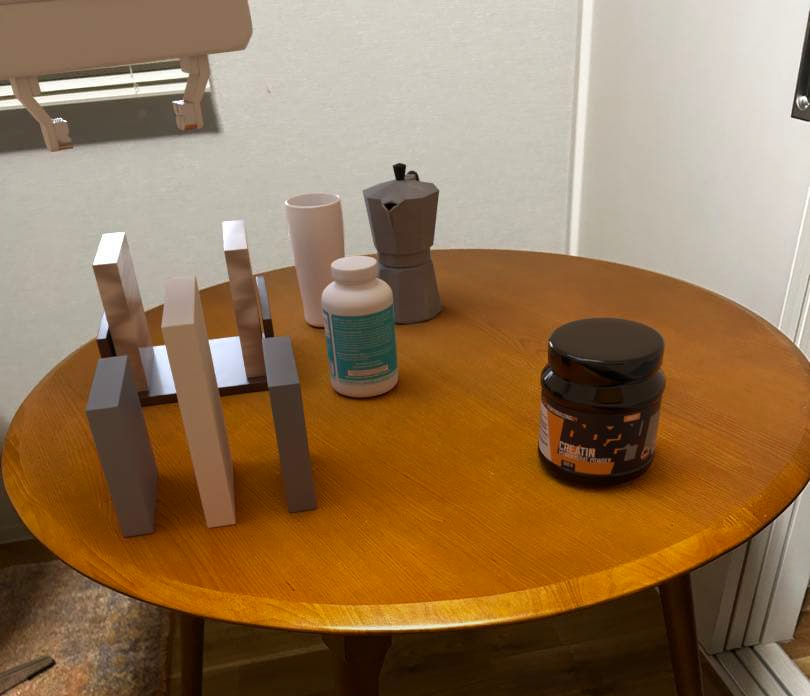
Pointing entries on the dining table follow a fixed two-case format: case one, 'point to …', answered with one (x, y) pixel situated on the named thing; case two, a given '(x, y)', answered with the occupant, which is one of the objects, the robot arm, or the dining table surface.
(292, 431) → the grey books
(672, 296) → the dining table surface
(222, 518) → the white book
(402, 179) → the coffeepot
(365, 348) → the pill bottle
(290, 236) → the drinking glass
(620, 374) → the supplement container
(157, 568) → the dining table surface
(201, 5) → the robot arm
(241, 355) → the book rack
